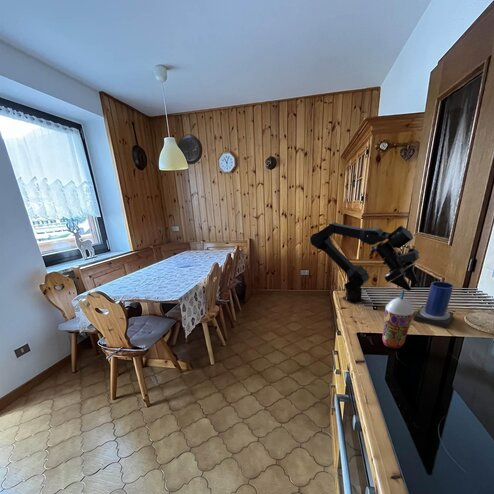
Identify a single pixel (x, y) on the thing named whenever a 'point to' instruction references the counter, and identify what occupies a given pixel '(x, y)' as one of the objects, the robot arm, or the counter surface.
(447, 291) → the tumbler
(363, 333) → the counter surface
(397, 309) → the smoothie
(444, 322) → the scale
